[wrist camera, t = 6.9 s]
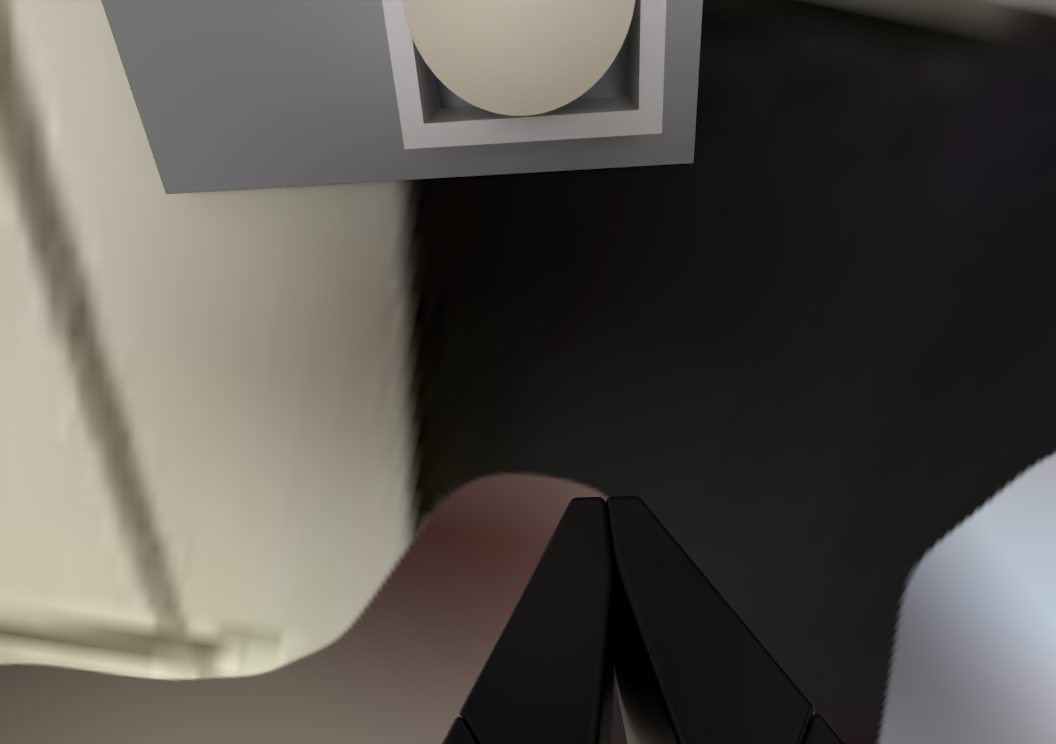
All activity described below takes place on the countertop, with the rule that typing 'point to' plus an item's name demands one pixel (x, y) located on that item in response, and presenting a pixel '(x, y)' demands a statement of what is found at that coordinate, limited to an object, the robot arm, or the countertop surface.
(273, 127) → the panel
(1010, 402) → the countertop surface
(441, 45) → the cream button
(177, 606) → the countertop surface
